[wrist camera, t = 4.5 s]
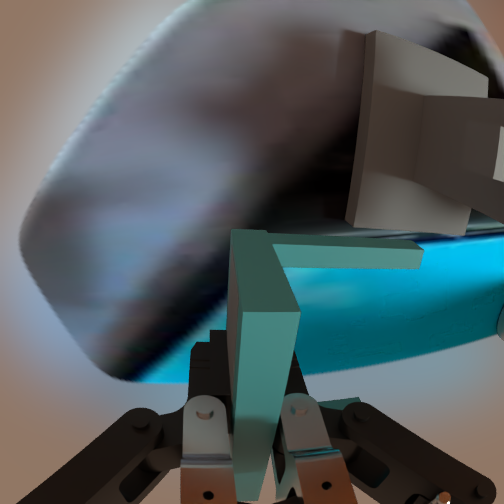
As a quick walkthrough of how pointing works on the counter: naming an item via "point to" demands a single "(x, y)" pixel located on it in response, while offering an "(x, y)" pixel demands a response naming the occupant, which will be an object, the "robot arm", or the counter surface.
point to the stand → (424, 142)
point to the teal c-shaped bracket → (279, 330)
